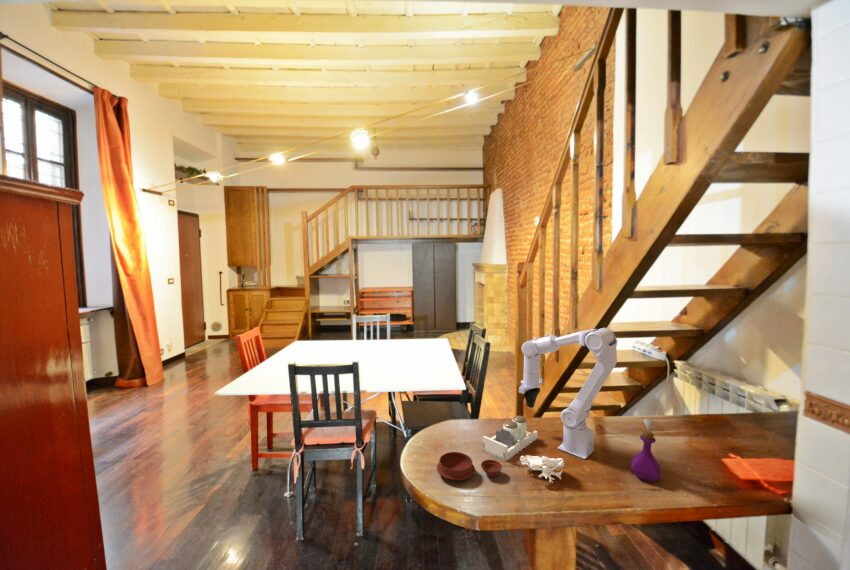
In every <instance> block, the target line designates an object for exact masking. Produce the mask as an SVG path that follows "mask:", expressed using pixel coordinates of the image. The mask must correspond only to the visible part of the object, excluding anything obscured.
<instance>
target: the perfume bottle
mask: <svg viewBox="0 0 850 570" xmlns="http://www.w3.org/2000/svg"><path fill="white" fill-rule="evenodd" d="M643 423H644V426H645V427H646V428H647V430H645V429H644V430H642V434H640V436H639V439H640V440H642V442H643V447H642V449H641V450H640V451H639V452H638V453H637V454H635V455H634V456H632V459H631V471H632V472H633V474H634V475H635V477H636V478H637V479H639V480H642V481H647V482H649V481H650V483H655V482H656V481H657V480H659V479H660V478H661V476H662V475H661V464H660V462H659V461H658V460H657V459H656V458H655V456H654V455H653V452H652V444H654V443H656V438H655V437H654V436H655V435H654V433H653V432H651V431H650V428H652V427H653V426H654V424H655V420H654V419H649V418H643Z"/></svg>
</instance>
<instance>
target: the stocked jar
mask: <svg viewBox="0 0 850 570" xmlns="http://www.w3.org/2000/svg"><path fill="white" fill-rule="evenodd" d="M502 428H503V429H505V430H508V431H509V434H510V435H513V436H514V445H515V444H516V443H518V425H517V423H516V422H514V421H512V420H505V421H504V422H503V427H502Z"/></svg>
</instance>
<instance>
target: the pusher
mask: <svg viewBox="0 0 850 570" xmlns="http://www.w3.org/2000/svg"><path fill="white" fill-rule="evenodd" d="M495 435H496V441H498V442H500V443H502V444H505V445H507V446H508V449H509V448H510V447H512V446H513V445H514V436H513V435H510V434H509V431H508V430H505V429H503V427H501V428H500V429H496V430H495Z"/></svg>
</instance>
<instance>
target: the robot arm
mask: <svg viewBox="0 0 850 570" xmlns="http://www.w3.org/2000/svg"><path fill="white" fill-rule="evenodd" d="M573 344H579V345H581V346H583V347H587V349H588V350H589V351H590V353H591V354H592V355H593V356H594V357H595V360H596V363H595V365H594V367H593V368H592V370H591V372H590V373H589V375H588V377H587V379H586V380H585V381H584V383H583V385H582V386H581V388H580V389H579V392H578V393H577V395H576V397H575V398H574V399H573V401H571V403H570V404H569V405H568V407H567V408H564V409H563V410H562V411H561V412H560V420H561V422H562V423H563V428H562V429H563V431H562V443H561V444H560V445H559V446H558V447H557V449H558V450H561V451H563V452H565V453H568V454H570V455H573V456H576V457H578V458H580V459H583V460H586V459H587V458H588V457H590V455H591V454H592V453H594V451H595V449H594V443H595V434H594V433H595V432H594V430H593V429H592V428H589V427H588V426H587V422H586V420H587V419H589V417H590V410H591V408H592V403H593V402H594V400H595V399H596V397H597V395H598V393H599V392H600V390H601V389H602V387H603V386H604V384H605V383H606V381H607V379H608V378H609V376H610V375H611V373H612V372H613V370H614V368H615V367H616V365H617V363H618V354H617V345H618V339H617V337H616V335H615V332H613V331H612V330H611V329H610V328H608V327H602V328H599V329H597V328H592V329H591V328H590V329H585V330H580V331H576V332H574V333H569V334H566V335H562V336H559V337H558V336H556V335H554V334H551V335H550V334H549V333H548V334H544V337H543V336H542V337H533V339H531V340H527V341H525V342H523V343H522V345H521V348H520V349H521V352H522V354H523V377H522V378H523V379H522V380H520V384H521V385H520V386H519V387H518V393H519V394H523V396H524V399H525V403H526V407H527V408H530V409H533V408H534V407H535V404H536V399H537V397H538V395H539V394H540V392H541V388H540V386H541V385H543V383H544V380H543V378H540V366H541V365H540V364H541V363H540V362H541V355H542V354H547V353H552V352H557V351H559V350H560V347H563V346H569V345H573Z"/></svg>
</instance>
